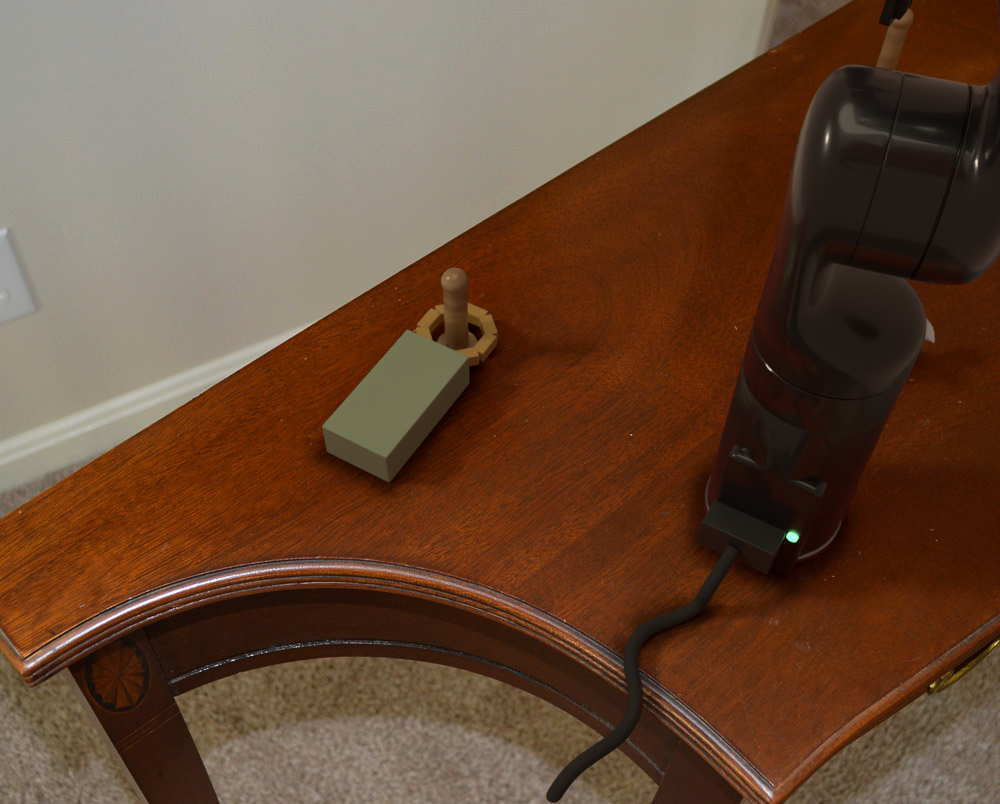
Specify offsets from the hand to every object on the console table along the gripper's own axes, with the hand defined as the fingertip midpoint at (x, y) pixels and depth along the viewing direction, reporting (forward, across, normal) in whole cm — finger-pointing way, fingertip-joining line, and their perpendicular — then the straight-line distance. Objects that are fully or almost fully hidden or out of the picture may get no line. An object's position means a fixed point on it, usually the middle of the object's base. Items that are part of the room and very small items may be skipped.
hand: (826, 1), depth 72 cm
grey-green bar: (+23, -16, -27) cm, 39 cm away
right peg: (+22, 0, +29) cm, 37 cm away
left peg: (+23, -16, -21) cm, 35 cm away
